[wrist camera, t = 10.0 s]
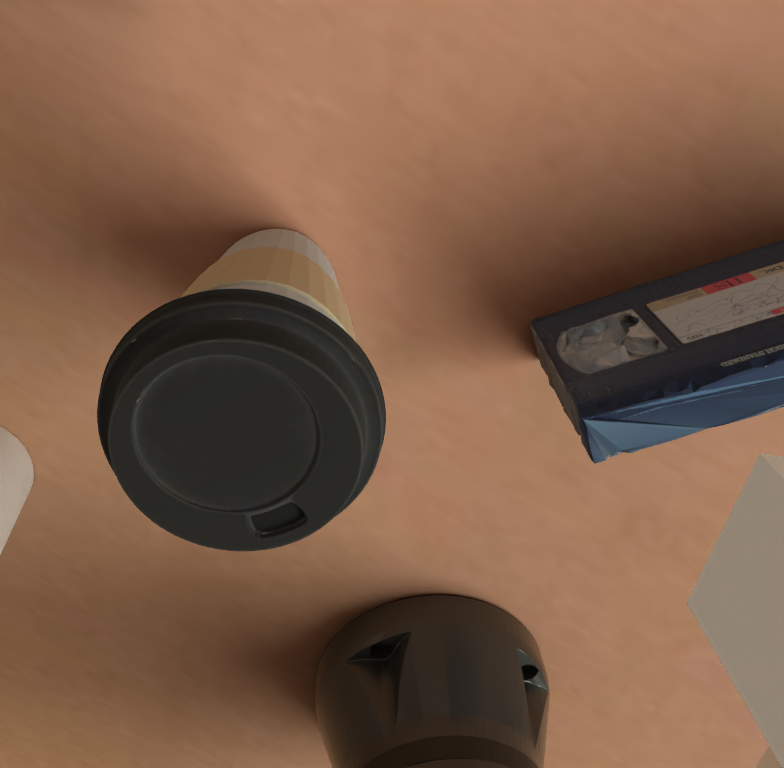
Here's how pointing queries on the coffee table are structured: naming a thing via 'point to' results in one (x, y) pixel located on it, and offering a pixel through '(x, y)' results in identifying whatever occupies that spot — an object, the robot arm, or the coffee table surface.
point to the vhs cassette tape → (670, 354)
